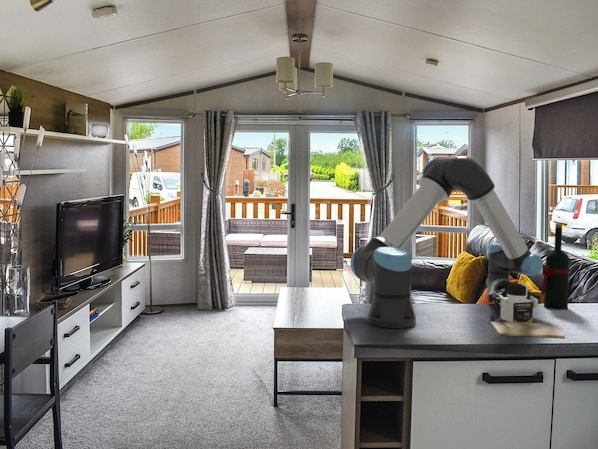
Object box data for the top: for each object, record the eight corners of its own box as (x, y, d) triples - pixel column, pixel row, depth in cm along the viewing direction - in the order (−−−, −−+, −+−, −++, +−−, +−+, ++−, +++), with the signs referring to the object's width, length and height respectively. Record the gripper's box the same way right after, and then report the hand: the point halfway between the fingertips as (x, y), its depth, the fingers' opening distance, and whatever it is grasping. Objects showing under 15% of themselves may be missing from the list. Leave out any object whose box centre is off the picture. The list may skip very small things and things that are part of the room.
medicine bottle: (513, 324, 178) (514, 286, 177) (499, 318, 185) (501, 282, 184) (532, 322, 180) (534, 285, 179) (519, 317, 187) (520, 281, 186)
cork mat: (499, 335, 165) (499, 333, 165) (490, 323, 179) (490, 321, 179) (564, 337, 163) (564, 335, 162) (550, 325, 176) (550, 323, 176)
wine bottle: (533, 305, 205) (536, 223, 203) (557, 304, 208) (560, 223, 206) (548, 310, 198) (551, 225, 196) (572, 309, 200) (576, 224, 198)
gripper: (536, 302, 199) (556, 316, 176) (472, 299, 202) (484, 314, 179) (537, 280, 198) (557, 293, 176) (473, 279, 201) (484, 290, 179)
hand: (520, 303), depth 178 cm, fingers closed on medicine bottle, 9 cm apart
